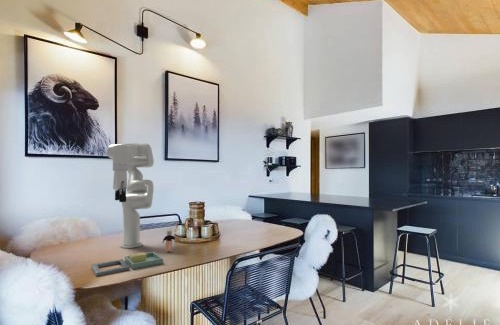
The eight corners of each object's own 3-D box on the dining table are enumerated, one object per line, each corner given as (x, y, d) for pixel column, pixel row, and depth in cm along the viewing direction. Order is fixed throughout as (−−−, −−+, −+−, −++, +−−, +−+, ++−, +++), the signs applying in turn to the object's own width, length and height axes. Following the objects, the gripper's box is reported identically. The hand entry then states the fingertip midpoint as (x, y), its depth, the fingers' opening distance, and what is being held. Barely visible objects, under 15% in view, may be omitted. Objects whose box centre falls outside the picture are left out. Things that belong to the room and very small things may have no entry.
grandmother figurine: (163, 253, 165) (164, 230, 165) (161, 251, 168) (161, 229, 168) (177, 251, 169) (177, 228, 169) (174, 249, 172) (174, 227, 172)
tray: (124, 261, 151) (124, 256, 151) (153, 256, 159) (153, 251, 159) (132, 269, 139) (132, 264, 139) (163, 263, 148) (163, 258, 148)
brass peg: (143, 260, 151) (129, 262, 147) (143, 252, 151) (129, 254, 147) (146, 262, 148) (131, 265, 144) (146, 254, 148) (131, 256, 144)
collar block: (91, 267, 142) (91, 264, 142) (122, 262, 150) (122, 259, 150) (96, 276, 130) (96, 273, 130) (129, 269, 138) (129, 266, 138)
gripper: (109, 168, 159) (109, 200, 159) (116, 168, 145) (116, 203, 145) (124, 168, 164) (124, 199, 163) (132, 168, 150) (132, 202, 149)
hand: (120, 201), depth 154 cm, fingers open, 9 cm apart
